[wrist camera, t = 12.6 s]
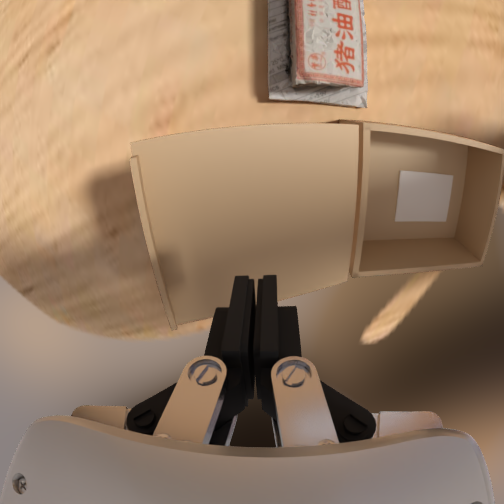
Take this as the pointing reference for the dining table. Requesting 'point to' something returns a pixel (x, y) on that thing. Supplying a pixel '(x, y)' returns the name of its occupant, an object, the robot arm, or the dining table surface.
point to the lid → (246, 210)
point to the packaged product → (317, 51)
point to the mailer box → (422, 200)
